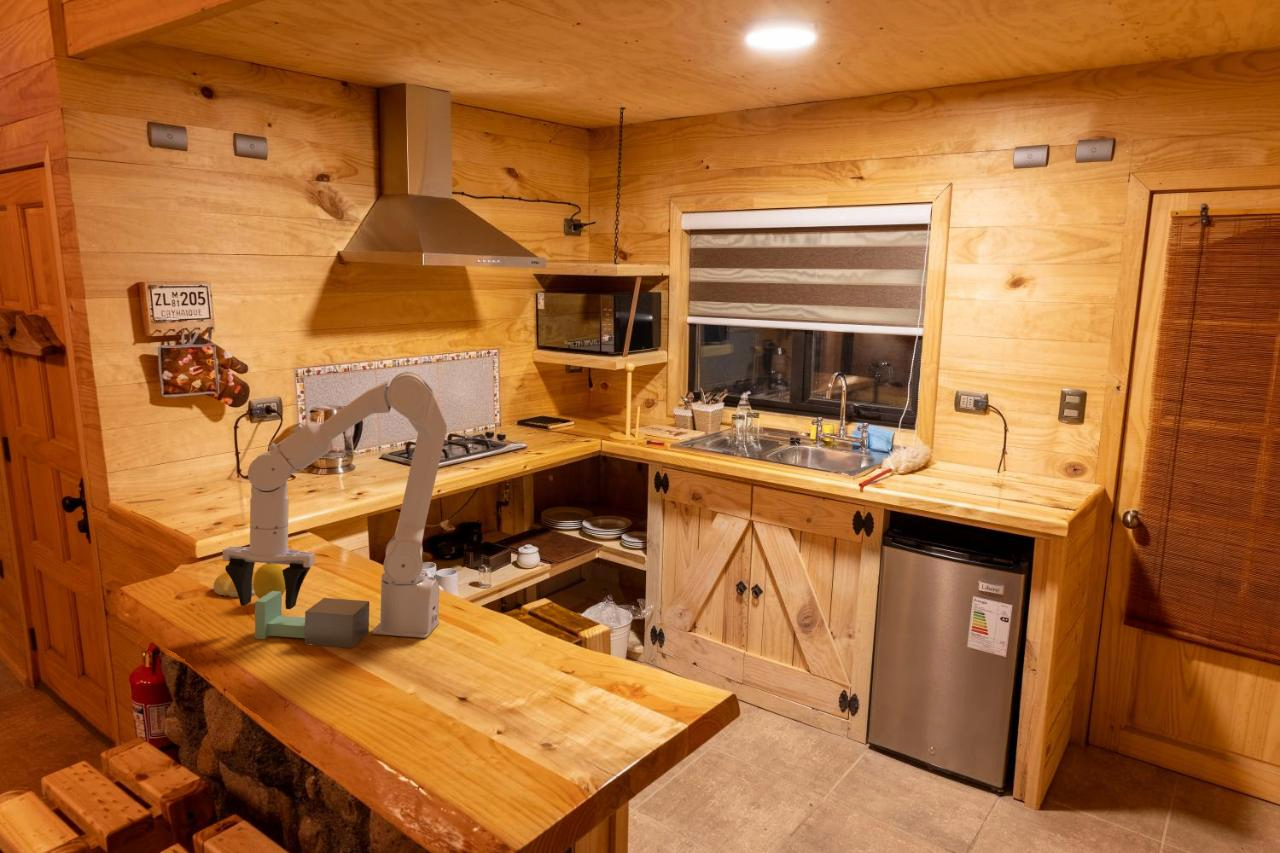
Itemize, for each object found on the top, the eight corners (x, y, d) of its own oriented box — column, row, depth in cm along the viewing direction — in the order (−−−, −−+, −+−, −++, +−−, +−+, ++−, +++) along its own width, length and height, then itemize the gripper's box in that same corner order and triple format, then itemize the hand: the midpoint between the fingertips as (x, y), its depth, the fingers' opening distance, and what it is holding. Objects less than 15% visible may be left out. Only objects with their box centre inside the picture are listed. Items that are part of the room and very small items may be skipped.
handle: (345, 631, 137) (345, 596, 137) (330, 644, 132) (331, 607, 131) (266, 625, 138) (266, 590, 137) (249, 637, 132) (249, 601, 132)
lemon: (292, 600, 151) (292, 558, 150) (276, 610, 146) (276, 566, 145) (263, 597, 152) (264, 556, 151) (246, 607, 146) (247, 564, 145)
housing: (368, 632, 138) (369, 601, 137) (352, 648, 131) (352, 615, 130) (323, 629, 138) (324, 597, 138) (304, 644, 131) (305, 611, 131)
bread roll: (233, 582, 160) (233, 563, 160) (273, 588, 158) (273, 568, 158) (202, 595, 152) (202, 574, 151) (243, 601, 150) (243, 580, 150)
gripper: (323, 523, 137) (321, 601, 138) (239, 516, 137) (238, 594, 139) (304, 532, 130) (302, 615, 131) (215, 526, 130) (215, 608, 132)
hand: (268, 605), depth 135 cm, fingers open, 7 cm apart
